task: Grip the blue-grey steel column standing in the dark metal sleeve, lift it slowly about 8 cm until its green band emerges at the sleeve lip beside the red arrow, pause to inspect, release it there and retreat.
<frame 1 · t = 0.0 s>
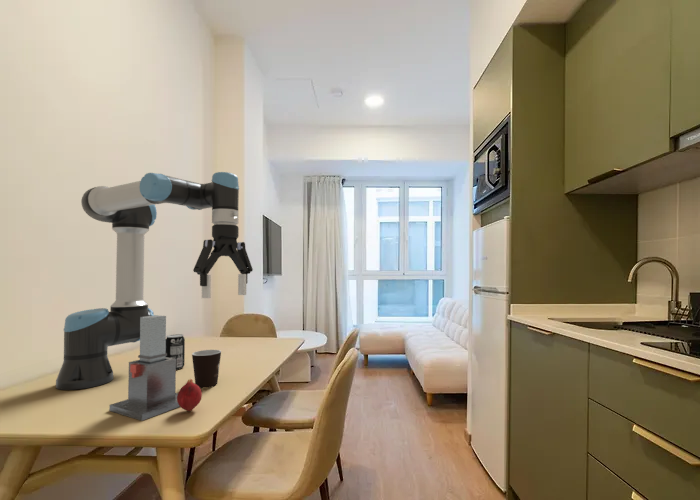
hand: (225, 296, 109), 28 cm above the table, tool pointing down, fingers open, 13 cm apart
coffee mug: (209, 383, 118), on the table
column: (152, 358, 99), point 13 cm above the table, slide at 0.0 cm
onion: (189, 412, 94), on the table
stand: (152, 406, 98), on the table
beverage can: (174, 368, 137), on the table
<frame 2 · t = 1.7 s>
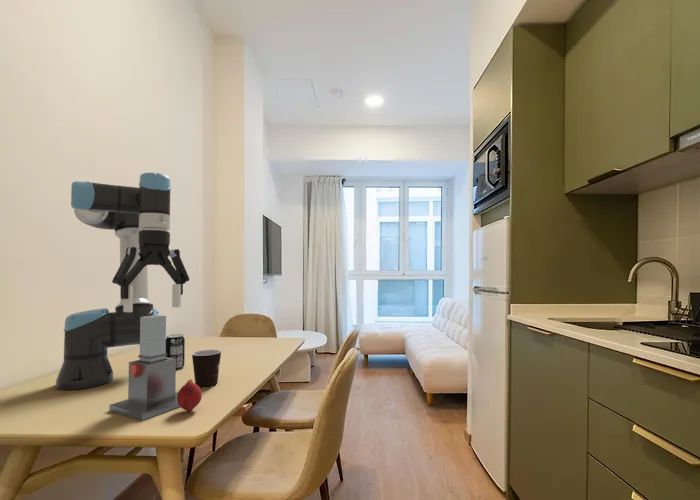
hand: (153, 309, 99), 25 cm above the table, tool pointing down, fingers open, 13 cm apart
nothing on the table moved.
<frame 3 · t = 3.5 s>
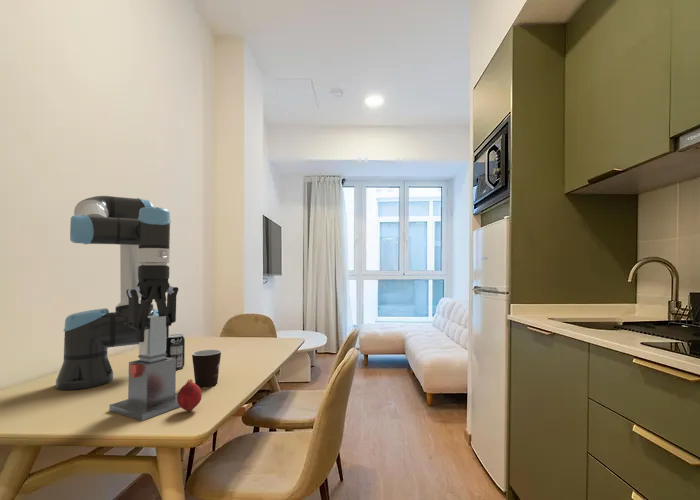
hand: (152, 352, 99), 14 cm above the table, tool pointing down, fingers closed on column, 4 cm apart
column: (152, 358, 99), point 13 cm above the table, slide at 0.0 cm, touching gripper
everything else where it was.
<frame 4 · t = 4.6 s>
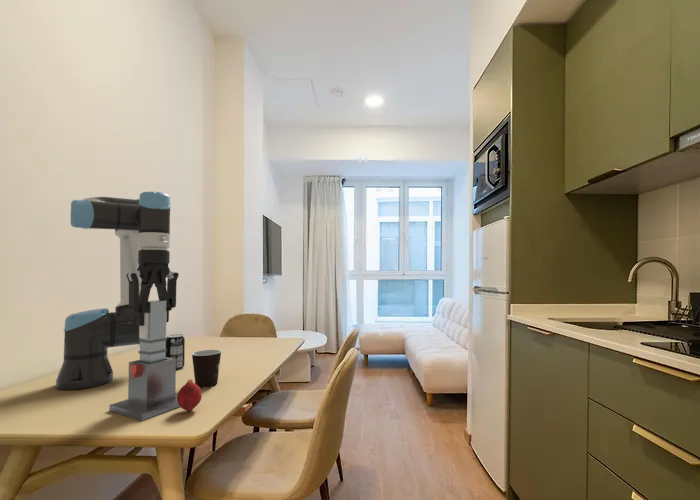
hand: (153, 336, 99), 18 cm above the table, tool pointing down, fingers closed on column, 4 cm apart
column: (152, 342, 99), point 17 cm above the table, slide at 4.1 cm, touching gripper
everything else where it was.
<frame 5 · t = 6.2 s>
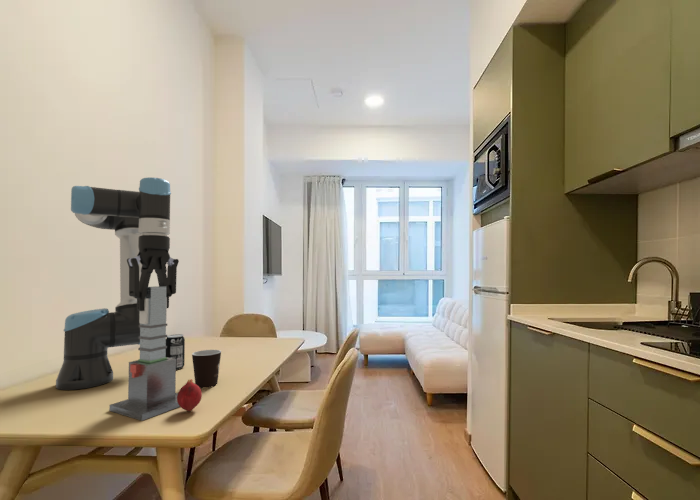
hand: (153, 322, 99), 22 cm above the table, tool pointing down, fingers closed on column, 4 cm apart
column: (153, 328, 99), point 21 cm above the table, slide at 8.0 cm, touching gripper
everything else where it was.
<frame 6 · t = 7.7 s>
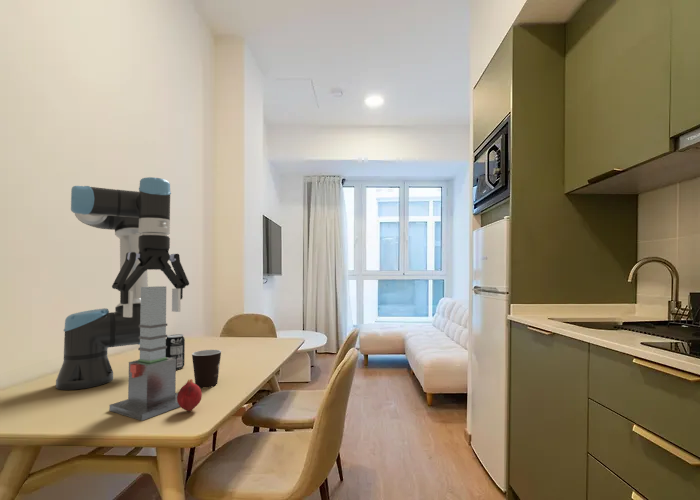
hand: (153, 314, 99), 24 cm above the table, tool pointing down, fingers open, 13 cm apart
column: (153, 328, 99), point 21 cm above the table, slide at 8.0 cm
everything else where it was.
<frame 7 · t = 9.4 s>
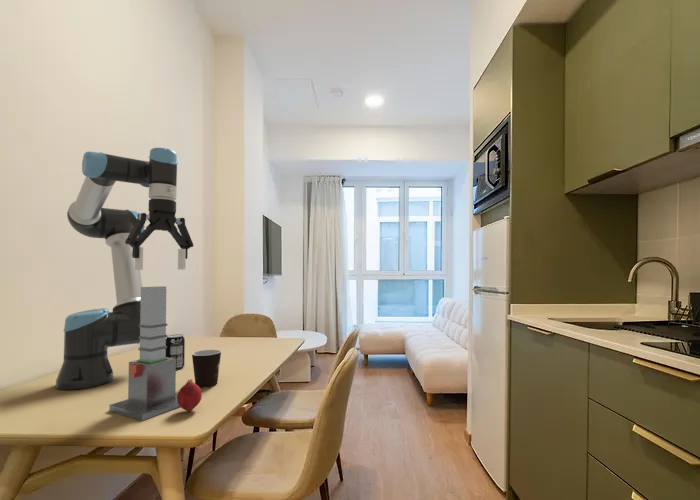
hand: (161, 269, 112), 36 cm above the table, tool pointing down, fingers open, 13 cm apart
nothing on the table moved.
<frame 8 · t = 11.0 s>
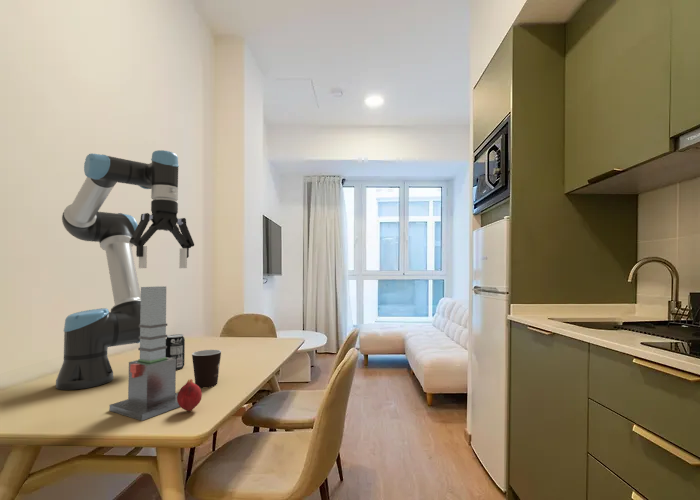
hand: (163, 268, 115), 37 cm above the table, tool pointing down, fingers open, 13 cm apart
nothing on the table moved.
at the end: column slide at 8.0 cm; the gripper is holding nothing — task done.
